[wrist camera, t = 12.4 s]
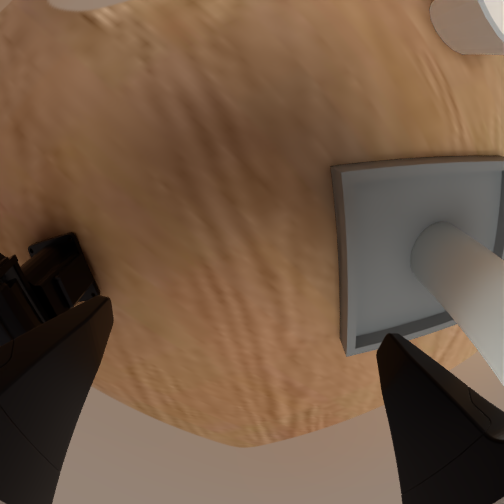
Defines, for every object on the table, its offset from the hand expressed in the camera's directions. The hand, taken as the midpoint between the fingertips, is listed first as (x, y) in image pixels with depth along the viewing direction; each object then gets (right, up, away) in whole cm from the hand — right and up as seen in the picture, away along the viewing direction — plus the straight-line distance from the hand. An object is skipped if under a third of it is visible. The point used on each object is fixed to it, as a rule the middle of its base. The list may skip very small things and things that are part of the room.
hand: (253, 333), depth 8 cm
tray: (+16, +3, +13) cm, 21 cm away
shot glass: (+17, +21, +5) cm, 28 cm away
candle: (+16, +2, +12) cm, 20 cm away
